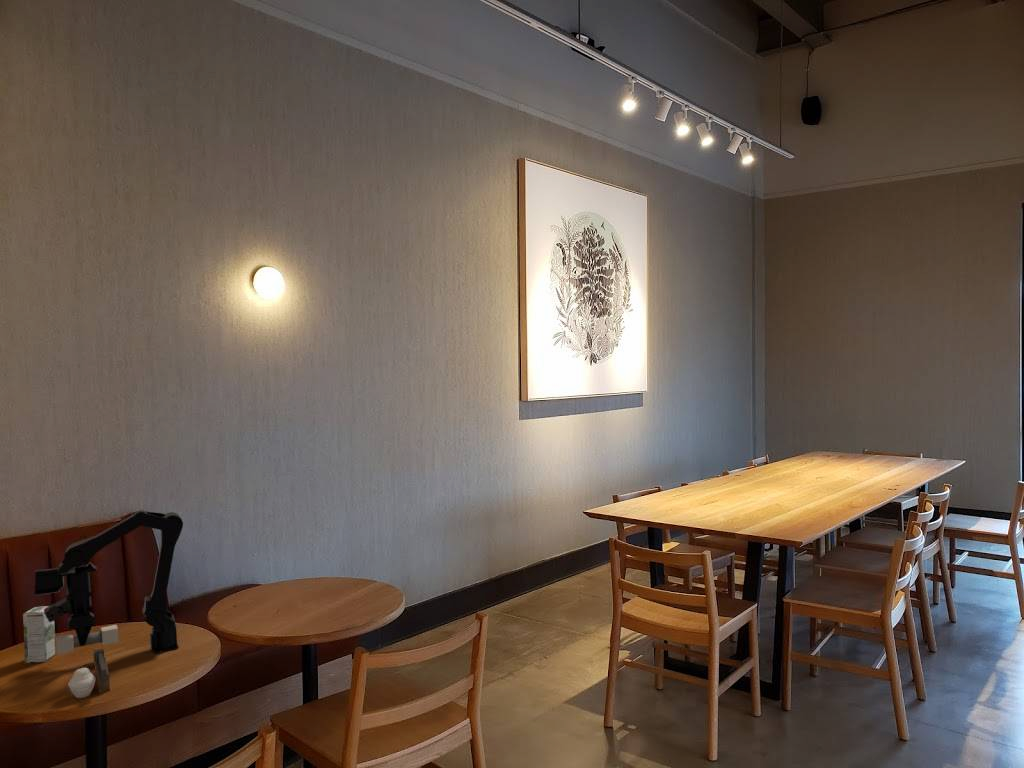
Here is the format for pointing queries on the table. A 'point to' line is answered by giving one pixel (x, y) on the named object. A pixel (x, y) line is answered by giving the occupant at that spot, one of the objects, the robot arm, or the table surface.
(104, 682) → the dark brown block
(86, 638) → the robot arm
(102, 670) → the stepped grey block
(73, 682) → the muffin
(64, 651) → the square-ended dumbbell
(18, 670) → the table surface
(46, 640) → the syrup box
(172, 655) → the table surface
